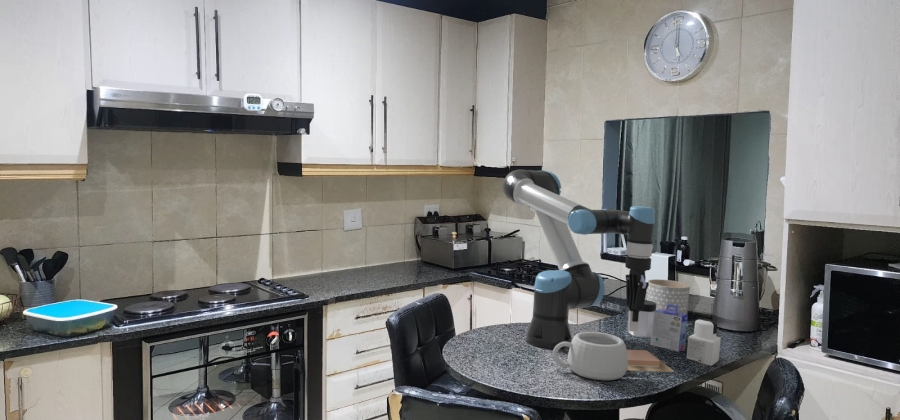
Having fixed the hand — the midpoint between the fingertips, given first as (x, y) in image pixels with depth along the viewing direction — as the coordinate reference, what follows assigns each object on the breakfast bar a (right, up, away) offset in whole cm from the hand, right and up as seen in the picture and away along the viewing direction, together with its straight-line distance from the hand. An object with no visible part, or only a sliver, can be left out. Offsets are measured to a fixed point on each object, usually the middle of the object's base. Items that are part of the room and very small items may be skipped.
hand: (632, 330), depth 190 cm
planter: (+33, -6, +63) cm, 72 cm away
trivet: (0, -9, -4) cm, 10 cm away
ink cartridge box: (+16, -9, +13) cm, 22 cm away
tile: (0, -7, 0) cm, 7 cm away
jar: (+12, -7, +28) cm, 31 cm away
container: (+23, -10, +2) cm, 25 cm away
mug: (-17, -9, -16) cm, 25 cm away
